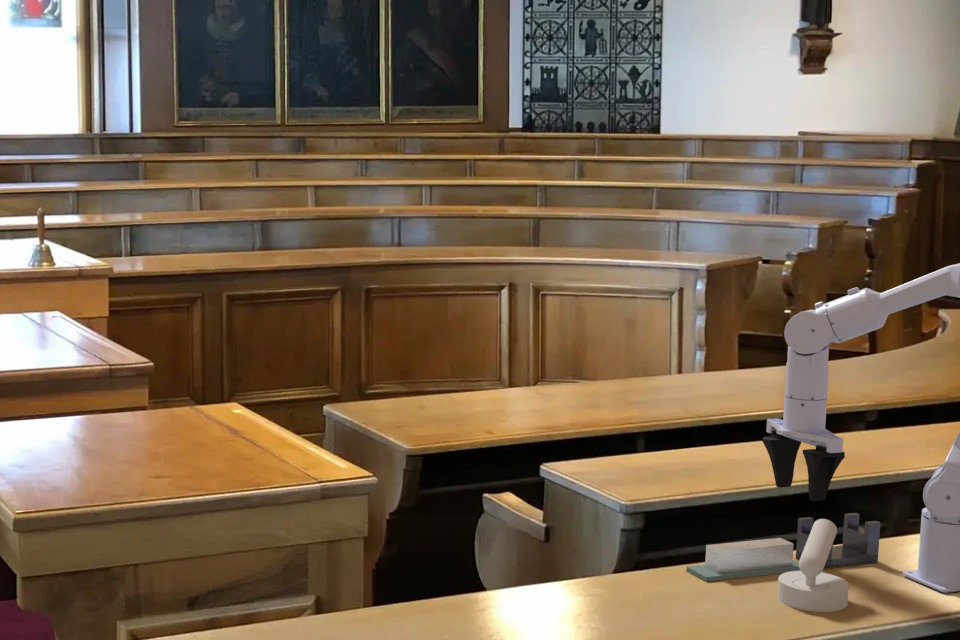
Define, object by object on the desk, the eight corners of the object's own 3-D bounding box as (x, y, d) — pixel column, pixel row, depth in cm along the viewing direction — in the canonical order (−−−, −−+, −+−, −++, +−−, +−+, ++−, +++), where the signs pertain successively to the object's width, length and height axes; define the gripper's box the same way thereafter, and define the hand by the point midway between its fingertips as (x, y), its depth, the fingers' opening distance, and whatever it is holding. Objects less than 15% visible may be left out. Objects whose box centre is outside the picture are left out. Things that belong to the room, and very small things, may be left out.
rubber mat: (784, 560, 178) (785, 556, 178) (806, 570, 174) (806, 566, 174) (686, 570, 172) (686, 566, 172) (706, 581, 167) (706, 577, 167)
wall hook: (860, 521, 163) (843, 540, 154) (856, 594, 164) (839, 616, 155) (793, 512, 167) (773, 529, 158) (789, 582, 168) (769, 604, 159)
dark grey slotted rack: (853, 552, 183) (855, 512, 182) (877, 562, 178) (880, 522, 177) (795, 558, 179) (798, 518, 178) (819, 569, 174) (821, 528, 174)
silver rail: (779, 558, 177) (780, 537, 176) (792, 565, 174) (793, 543, 173) (705, 566, 172) (706, 545, 172) (717, 573, 169) (718, 551, 169)
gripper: (750, 389, 181) (745, 483, 183) (814, 407, 168) (808, 508, 170) (791, 387, 184) (786, 479, 186) (858, 405, 171) (851, 504, 172)
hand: (800, 493), depth 178 cm, fingers open, 7 cm apart
